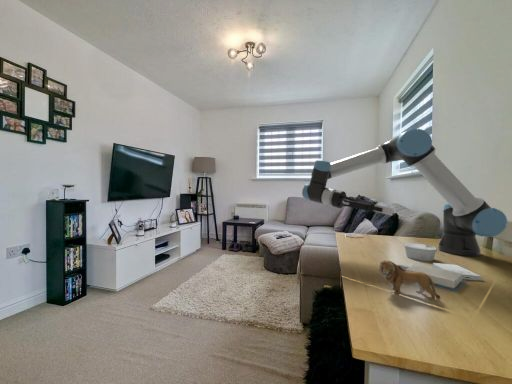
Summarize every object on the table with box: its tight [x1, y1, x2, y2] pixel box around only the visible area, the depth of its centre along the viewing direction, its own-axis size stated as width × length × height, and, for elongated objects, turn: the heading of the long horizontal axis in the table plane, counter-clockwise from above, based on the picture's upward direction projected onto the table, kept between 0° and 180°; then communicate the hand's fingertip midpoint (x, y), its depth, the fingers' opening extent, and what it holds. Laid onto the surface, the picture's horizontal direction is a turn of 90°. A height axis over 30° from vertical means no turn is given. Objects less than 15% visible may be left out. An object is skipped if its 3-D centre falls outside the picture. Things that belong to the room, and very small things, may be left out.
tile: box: [406, 263, 463, 289], centre depth 76 cm, size 10×2×12 cm
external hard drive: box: [432, 262, 483, 282], centre depth 82 cm, size 2×8×12 cm
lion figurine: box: [379, 259, 441, 301], centre depth 66 cm, size 15×5×9 cm, turn 71°
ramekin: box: [404, 242, 437, 262], centre depth 101 cm, size 11×11×5 cm
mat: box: [398, 264, 469, 294], centre depth 78 cm, size 14×20×1 cm
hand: (392, 212), depth 89 cm, fingers closed
